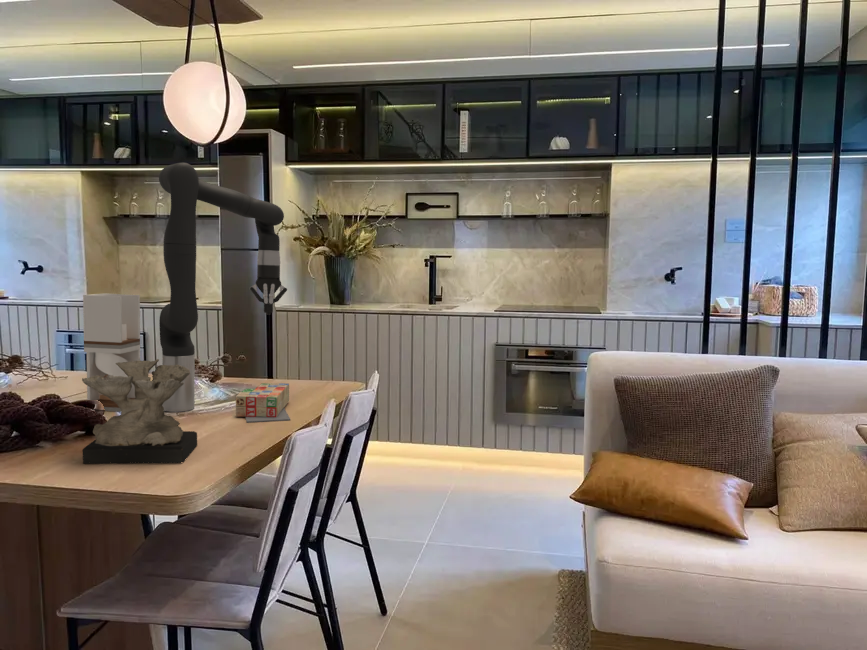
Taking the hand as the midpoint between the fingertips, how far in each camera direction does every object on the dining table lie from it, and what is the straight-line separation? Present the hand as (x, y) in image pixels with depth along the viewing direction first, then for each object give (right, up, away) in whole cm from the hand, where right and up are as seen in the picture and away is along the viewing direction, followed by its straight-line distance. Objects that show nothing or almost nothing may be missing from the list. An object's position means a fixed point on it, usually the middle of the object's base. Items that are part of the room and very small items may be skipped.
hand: (268, 314), depth 204 cm
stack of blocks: (+10, -27, -16) cm, 33 cm away
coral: (-14, -35, -60) cm, 71 cm away
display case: (-43, -29, -19) cm, 56 cm away
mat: (+4, -31, -18) cm, 36 cm away
